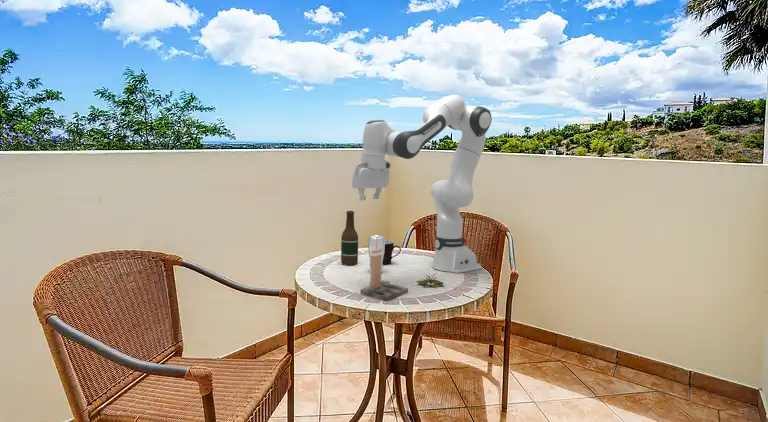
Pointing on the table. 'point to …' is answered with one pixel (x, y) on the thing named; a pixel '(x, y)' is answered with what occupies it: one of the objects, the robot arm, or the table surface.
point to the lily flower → (426, 281)
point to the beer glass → (376, 246)
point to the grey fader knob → (385, 282)
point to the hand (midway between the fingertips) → (369, 199)
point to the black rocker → (380, 290)
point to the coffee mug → (389, 252)
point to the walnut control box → (391, 292)
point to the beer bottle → (349, 242)
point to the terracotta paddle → (376, 268)
